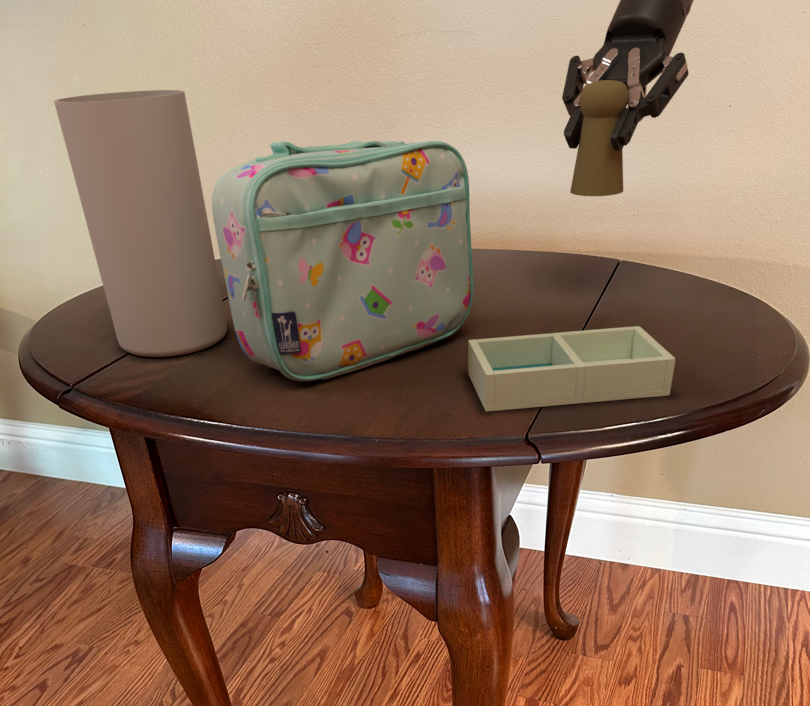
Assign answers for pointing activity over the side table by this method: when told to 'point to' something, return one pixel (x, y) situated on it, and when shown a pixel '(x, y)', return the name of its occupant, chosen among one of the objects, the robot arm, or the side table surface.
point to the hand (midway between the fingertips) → (592, 144)
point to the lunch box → (345, 253)
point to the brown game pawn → (599, 140)
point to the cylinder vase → (146, 218)
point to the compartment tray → (568, 368)
